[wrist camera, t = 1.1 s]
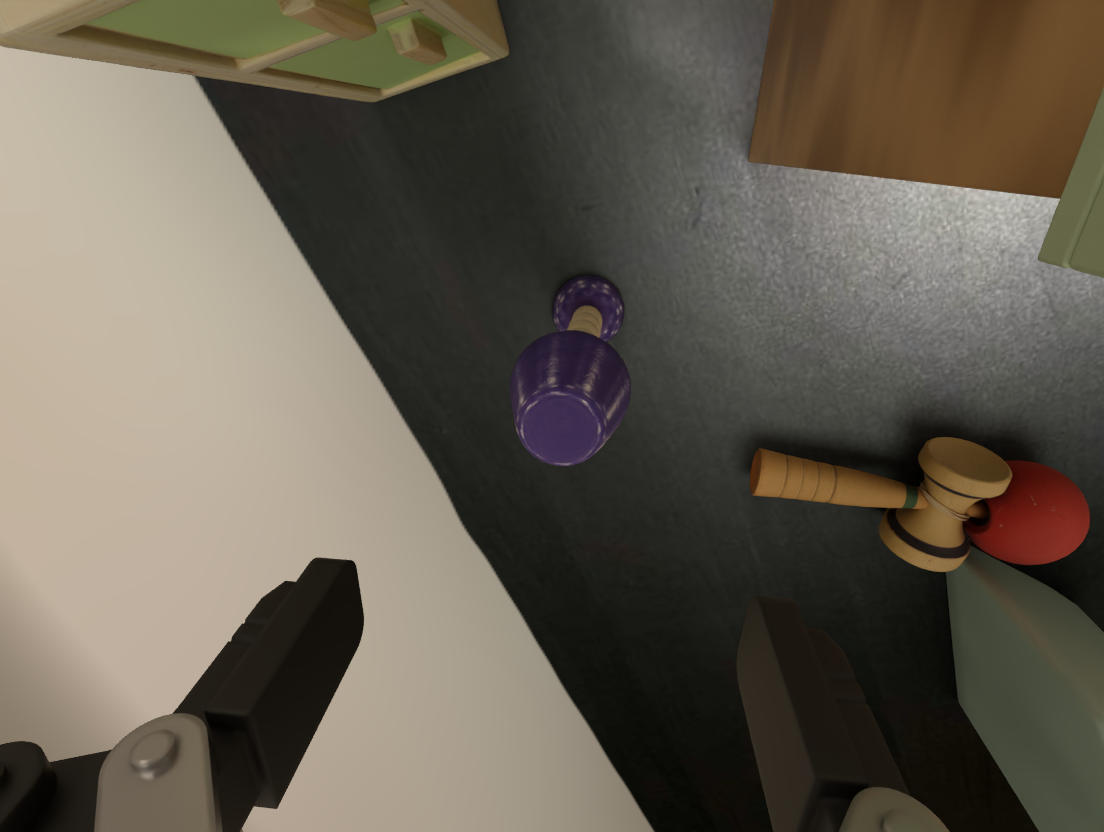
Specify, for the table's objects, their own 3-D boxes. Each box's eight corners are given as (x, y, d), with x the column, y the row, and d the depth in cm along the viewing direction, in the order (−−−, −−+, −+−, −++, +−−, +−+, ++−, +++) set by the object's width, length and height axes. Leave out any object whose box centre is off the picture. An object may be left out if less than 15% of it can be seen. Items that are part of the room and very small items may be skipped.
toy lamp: (533, 325, 34) (473, 463, 19) (563, 251, 32) (522, 342, 17) (605, 355, 35) (602, 514, 20) (639, 285, 33) (664, 402, 18)
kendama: (737, 508, 40) (1025, 558, 37) (746, 550, 34) (1092, 614, 31) (758, 402, 38) (1066, 444, 35) (772, 426, 32) (1146, 480, 29)
